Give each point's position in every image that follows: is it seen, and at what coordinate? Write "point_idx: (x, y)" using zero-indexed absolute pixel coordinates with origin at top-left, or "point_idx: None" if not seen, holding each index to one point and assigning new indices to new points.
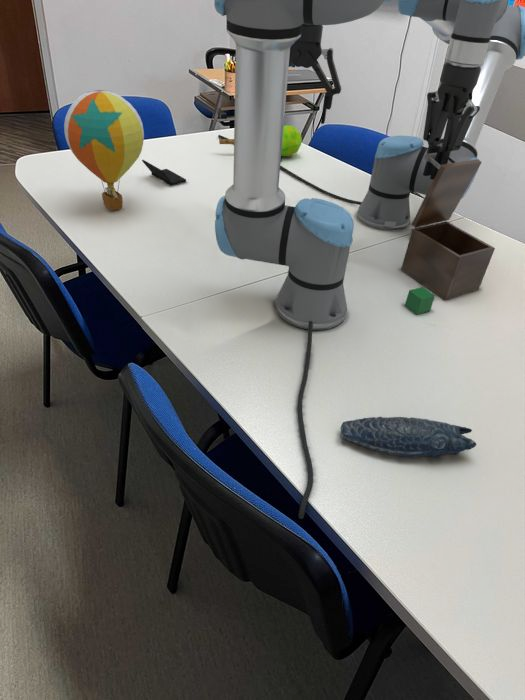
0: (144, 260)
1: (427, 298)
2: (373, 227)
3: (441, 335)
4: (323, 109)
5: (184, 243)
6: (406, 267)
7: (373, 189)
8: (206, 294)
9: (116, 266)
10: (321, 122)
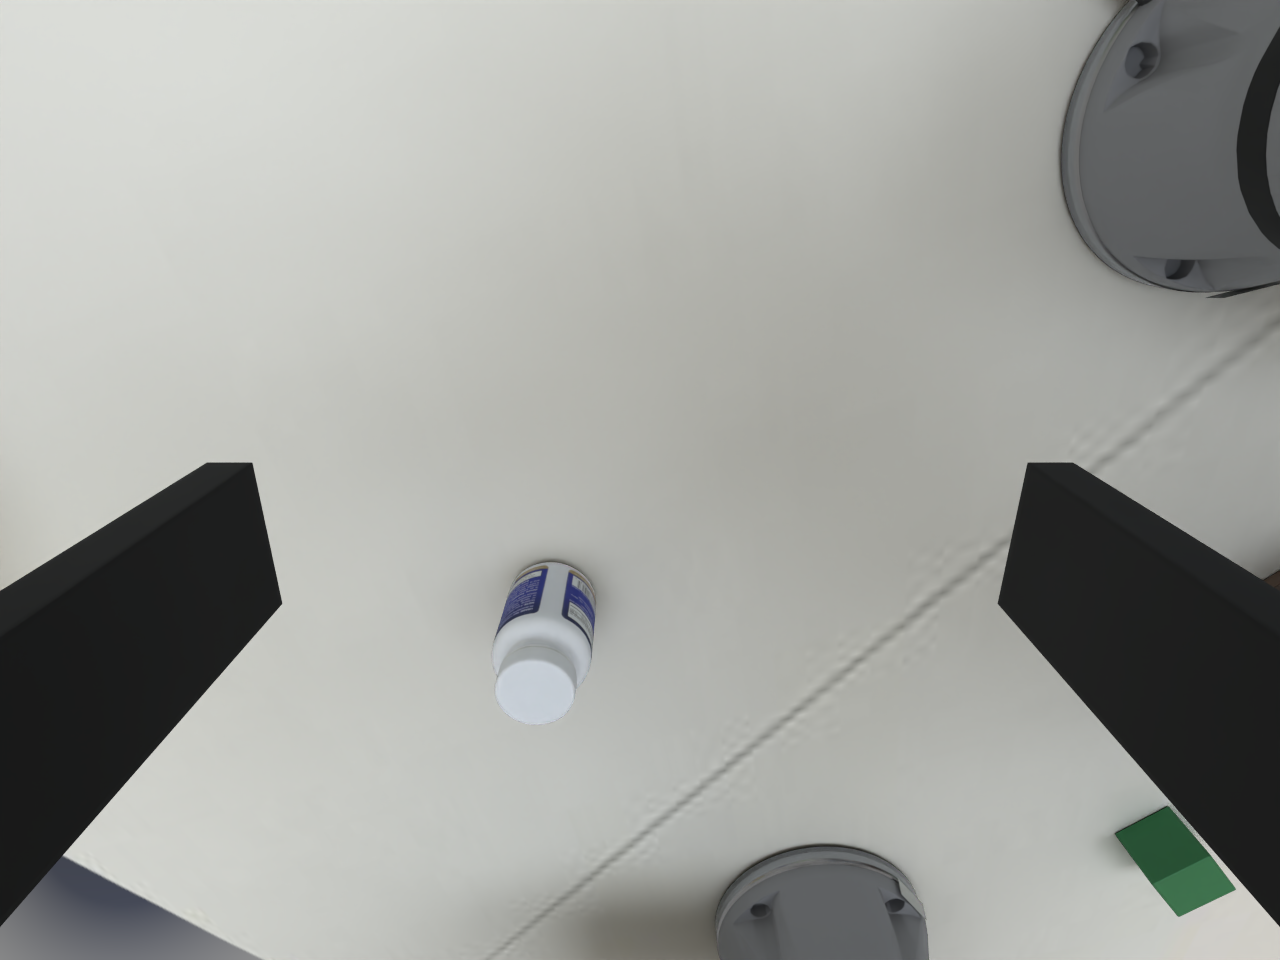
0: (243, 833)
1: (1202, 903)
2: (1136, 280)
3: (1184, 923)
4: (1126, 731)
5: (301, 702)
6: None
7: (1270, 207)
8: (510, 927)
9: (189, 881)
10: (1013, 610)
